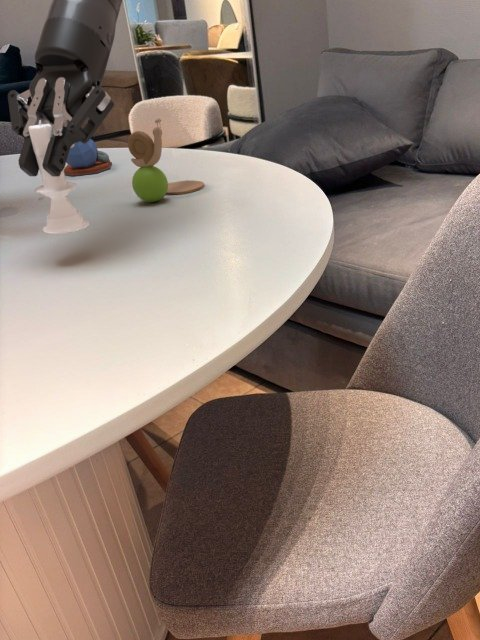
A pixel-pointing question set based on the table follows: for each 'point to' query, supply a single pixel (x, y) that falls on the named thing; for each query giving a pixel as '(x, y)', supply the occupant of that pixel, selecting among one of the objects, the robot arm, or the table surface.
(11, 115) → the robot arm
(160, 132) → the snail figurine
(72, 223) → the candle
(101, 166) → the model
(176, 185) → the coaster
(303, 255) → the table surface
